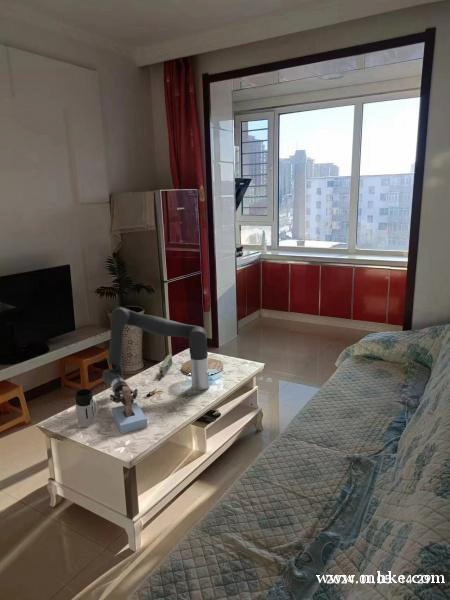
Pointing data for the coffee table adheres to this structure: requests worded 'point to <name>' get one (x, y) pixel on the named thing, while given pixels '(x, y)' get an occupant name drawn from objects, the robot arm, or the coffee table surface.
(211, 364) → the trivet
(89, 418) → the white travel mug
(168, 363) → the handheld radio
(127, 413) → the slat
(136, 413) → the end cap
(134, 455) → the coffee table surface
